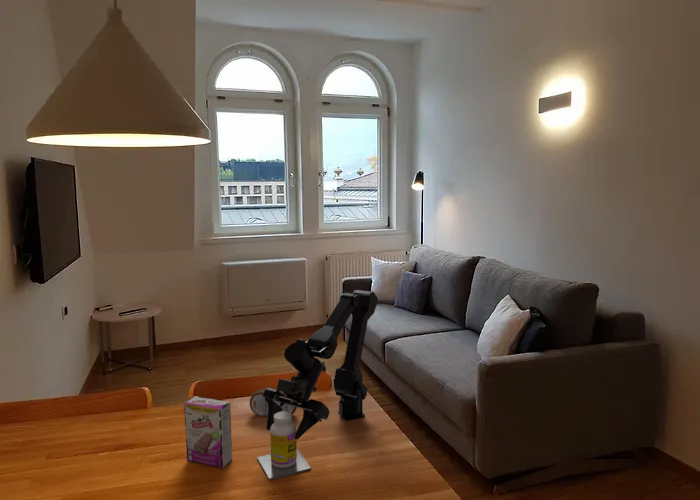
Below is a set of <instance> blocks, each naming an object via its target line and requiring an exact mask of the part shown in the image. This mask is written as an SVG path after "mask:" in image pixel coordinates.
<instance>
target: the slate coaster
mask: <svg viewBox="0 0 700 500" xmlns="http://www.w3.org/2000/svg"><path fill="white" fill-rule="evenodd" d="M256 459H257V461H258V463H259V465H260V467H261V468H262V470H263V473H264V474H265V476H266V477H267V479H268V481H273V480H277V479H281V478H283V477H284V478H285V477H289V476H292V475H296V474H300V473H304V472H307V471H311V470H312V467H311V465H309V463H308V462H307V460H306V459H305V458H304V456H303V454H302V453H301V452H300V450H299V449H298V448H297V460H296V463H295V464H294V465H292V466H290V467H287V468H279V467H275V466H274V465H273V464H272V463H271V453H269V454H265V455H264V454H263V455H260V456H257V457H256Z"/></svg>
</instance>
